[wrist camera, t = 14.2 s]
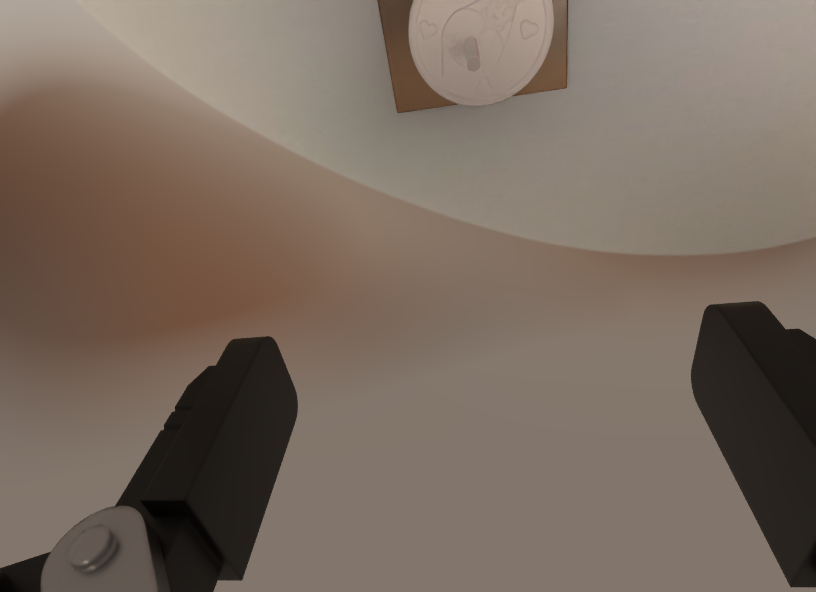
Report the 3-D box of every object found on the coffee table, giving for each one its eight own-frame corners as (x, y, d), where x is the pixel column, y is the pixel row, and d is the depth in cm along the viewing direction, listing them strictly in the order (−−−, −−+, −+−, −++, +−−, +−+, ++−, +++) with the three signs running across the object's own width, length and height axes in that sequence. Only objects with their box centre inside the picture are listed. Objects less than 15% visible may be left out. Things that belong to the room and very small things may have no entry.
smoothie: (397, 10, 30) (362, 58, 19) (474, -92, 27) (488, -107, 16) (473, 86, 32) (482, 170, 21) (552, 0, 29) (613, 44, 18)
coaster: (565, 85, 32) (566, 88, 32) (398, 111, 34) (397, 113, 34) (568, -135, 26) (570, -136, 26) (363, -90, 28) (361, -91, 27)
